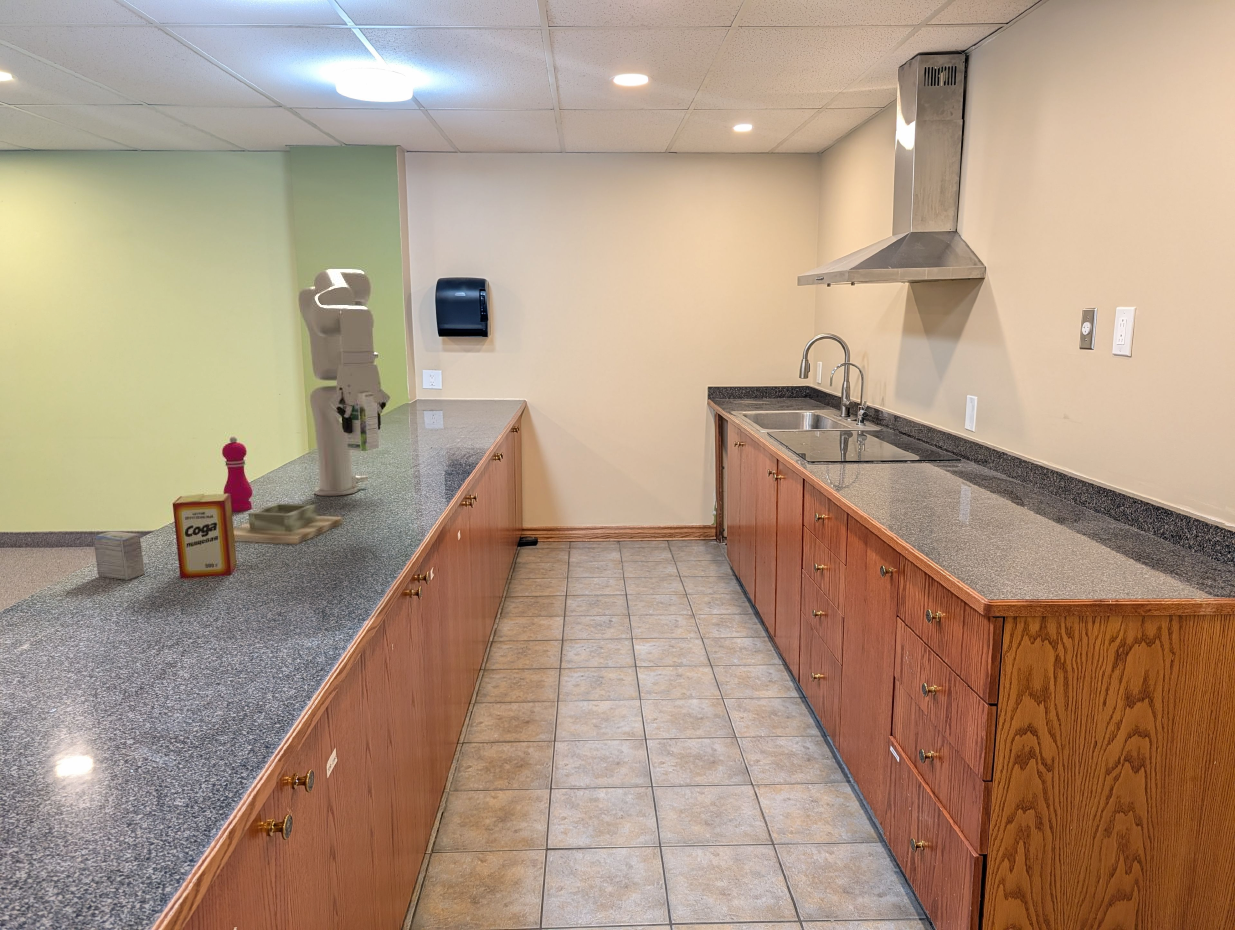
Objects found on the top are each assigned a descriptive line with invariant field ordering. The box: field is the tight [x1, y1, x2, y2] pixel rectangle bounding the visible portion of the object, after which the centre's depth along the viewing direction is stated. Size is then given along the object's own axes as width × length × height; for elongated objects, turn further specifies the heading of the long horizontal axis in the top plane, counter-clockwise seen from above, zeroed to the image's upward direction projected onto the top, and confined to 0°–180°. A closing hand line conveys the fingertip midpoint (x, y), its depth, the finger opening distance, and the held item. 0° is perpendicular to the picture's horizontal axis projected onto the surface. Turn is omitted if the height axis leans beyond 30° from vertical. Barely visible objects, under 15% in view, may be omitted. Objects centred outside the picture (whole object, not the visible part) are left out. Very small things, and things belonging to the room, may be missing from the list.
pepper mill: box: [221, 436, 253, 512], centre depth 226 cm, size 7×7×20 cm
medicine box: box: [92, 530, 145, 581], centre depth 170 cm, size 8×4×9 cm, turn 71°
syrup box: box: [346, 391, 380, 452], centre depth 206 cm, size 6×6×14 cm
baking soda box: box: [172, 493, 238, 580], centre depth 171 cm, size 10×6×16 cm
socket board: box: [233, 502, 344, 545], centre depth 204 cm, size 20×20×6 cm
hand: (362, 430), depth 207 cm, fingers closed on syrup box, 7 cm apart
